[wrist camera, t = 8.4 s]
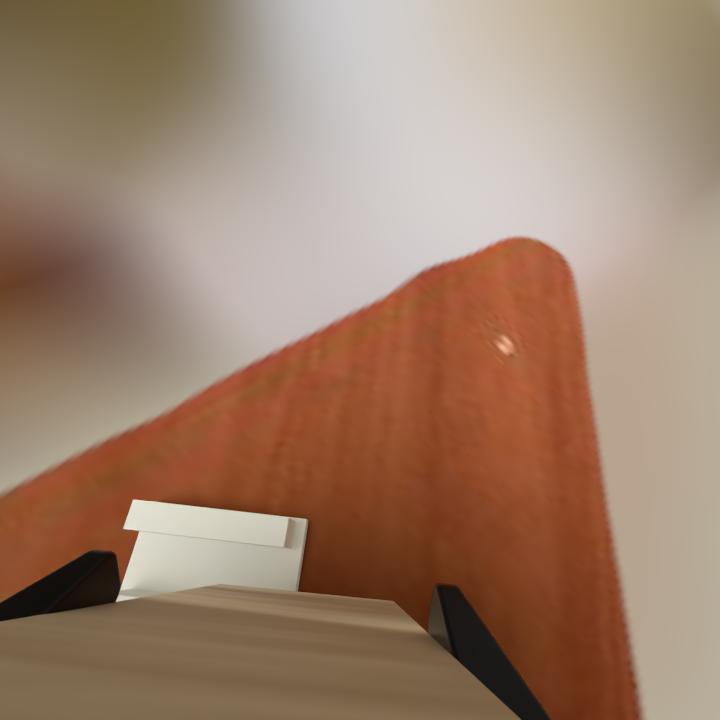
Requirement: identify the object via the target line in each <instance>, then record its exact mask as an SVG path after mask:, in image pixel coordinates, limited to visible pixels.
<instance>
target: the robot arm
mask: <svg viewBox="0 0 720 720" xmlns="http://www.w3.org/2000/svg"><path fill="white" fill-rule="evenodd" d="M120 587H121V582H120V575H119V568H118V561H117V556H116V554H115V553H114V552H112V551H104V550H91V551H89V552H87V553H85V554H83V555H82V556H80V557H78V558H76V559H75V560H73V561H71V562H70V563H68V564H66V565H64V566H63V567H61V568H59V569H57V570H56V571H54V572H52V573H51V574H49V575H47V576H45V577H44V578H42V579H40V580H39V581H37V582H35V583H33V584H32V585H30V586H28V587H26V588H25V589H23V590H21V591H20V592H18V593H16V594H14V595H13V596H11V597H9V598H7V599H6V600H4V601H2V602H1V603H0V622H1V621H6V620H12V619H18V618H24V617H30V616H36V615H42V614H51V613H57V612H63V611H69V610H75V609H81V608H86V607H92V606H98V605H104V604H109V603H115V602H116V600H117V598H118V595H119V592H120ZM429 635H431V636H432V637H433V638H434V639H435V640H436V641H437V642H438V643H439V644H440V645H441V646H442V647H443V648H445V649H446V650H447V651H448V652H449V653H450V654H451V655H452V656H453V657H454V658H455V659H456V660H458V661H459V662H460V663H461V664H462V665H463V666H464V667H465V668H466V669H467V670H468V671H469V672H470V673H472V674H473V675H474V676H475V677H476V678H477V679H478V680H479V681H480V682H481V683H482V684H483V685H484V686H486V687H487V688H488V689H489V690H490V691H491V692H492V693H493V694H494V695H495V696H496V697H497V698H498V699H500V700H501V701H502V702H503V703H504V704H505V705H506V706H507V707H508V708H509V709H510V710H511V711H513V712H514V713H515V714H516V715H517V716H518V717H519V718H520V719H521V720H551V719H550V717H549V716H548V714H547V713H546V711H545V710H544V709H543V707H542V706H541V704H540V703H539V701H538V700H537V699H536V697H535V696H534V694H533V693H532V691H531V690H530V689H529V687H528V686H527V684H526V683H525V681H524V680H523V679H522V677H521V676H520V674H519V673H518V671H517V670H516V669H515V667H514V666H513V664H512V663H511V661H510V660H509V659H508V657H507V656H506V654H505V653H504V651H503V650H502V649H501V647H500V646H499V644H498V643H497V641H496V640H495V639H494V637H493V636H492V634H491V633H490V631H489V630H488V629H487V627H486V626H485V624H484V623H483V621H482V620H481V619H480V617H479V616H478V614H477V613H476V611H475V610H474V609H473V607H472V606H471V604H470V603H469V601H468V600H467V599H466V597H465V596H464V594H463V593H462V591H461V590H460V589H459V587H457V586H456V585H452V584H441V583H438V584H436V585H435V586H434V589H433V595H432V601H431V607H430V612H429Z"/></svg>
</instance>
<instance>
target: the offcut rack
mask: <svg viewBox="0 0 720 720" xmlns="http://www.w3.org/2000/svg"><path fill="white" fill-rule="evenodd" d="M308 522H309V521H308V520H307V519H302V518H293V517H284V516H276V515H267V514H258V513H249V512H241V511H232V510H223V509H214V508H206V507H197V506H188V505H179V504H170V503H162V502H153V501H141V500H133V502H132V505H131V508H130V511H129V513H128V516H127V519H126V522H125V525H124V528H123V529H129V530H136V531H140V532H139V535H138V538H137V541H136V544H135V547H134V550H133V553H132V556H131V559H130V562H129V565H128V568H127V571H126V574H125V577H124V580H123V583H122V586H121V589H120V592H119V595H118V598H117V600H116V602H118V601H123V600H129V599H135V598H141V597H147V596H153V595H159V594H164V593H170V592H176V591H182V590H188V589H194V588H200V587H205V586H211V585H217V584H225V585H235V586H246V587H256V588H266V589H276V590H286V591H297V592H298V588H299V581H300V574H301V568H302V561H303V555H304V548H305V541H306V535H307V528H308Z"/></svg>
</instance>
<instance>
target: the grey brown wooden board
mask: <svg viewBox="0 0 720 720" xmlns="http://www.w3.org/2000/svg"><path fill="white" fill-rule="evenodd" d="M0 720H521V719H520V718H519V717H518V716H517V715H516V714H515V713H514V712H513V711H511V710H510V709H509V708H508V707H507V706H506V705H505V704H504V703H503V702H502V701H501V700H500V699H498V698H497V697H496V696H495V695H494V694H493V693H492V692H491V691H490V690H489V689H488V688H487V687H486V686H484V685H483V684H482V683H481V682H480V681H479V680H478V679H477V678H476V677H475V676H474V675H473V674H472V673H470V672H469V671H468V670H467V669H466V668H465V667H464V666H463V665H462V664H461V663H460V662H459V661H458V660H456V659H455V658H454V657H453V656H452V655H451V654H450V653H449V652H448V651H447V650H446V649H445V648H443V647H442V646H441V645H440V644H439V643H438V642H437V641H436V640H435V639H434V638H433V637H432V636H431V635H429V634H428V633H427V632H426V631H425V630H424V629H423V628H422V627H421V626H420V625H419V624H418V623H417V622H415V621H414V620H413V619H412V618H411V617H410V616H409V615H408V614H407V613H406V612H405V611H404V610H402V609H401V608H400V607H399V606H398V605H397V604H396V603H395V602H394V601H388V600H378V599H368V598H358V597H348V596H337V595H327V594H317V593H307V592H297V591H286V590H276V589H266V588H256V587H246V586H235V585H225V584H217V585H211V586H205V587H200V588H194V589H188V590H182V591H176V592H170V593H164V594H159V595H153V596H147V597H141V598H135V599H129V600H123V601H118V602H115V603H109V604H104V605H98V606H92V607H86V608H81V609H75V610H69V611H63V612H57V613H51V614H42V615H36V616H30V617H24V618H18V619H12V620H6V621H1V622H0Z"/></svg>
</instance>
